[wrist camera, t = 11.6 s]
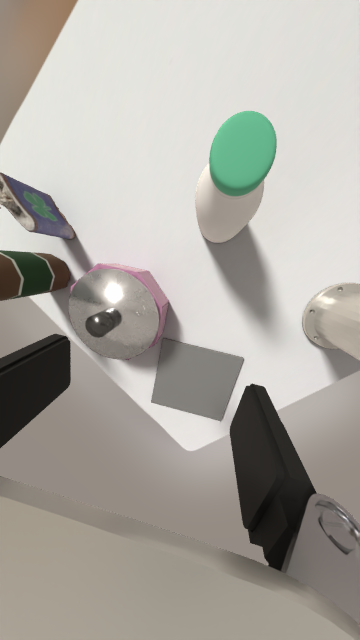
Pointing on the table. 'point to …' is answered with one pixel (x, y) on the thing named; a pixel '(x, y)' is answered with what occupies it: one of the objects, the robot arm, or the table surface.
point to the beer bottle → (30, 274)
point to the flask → (33, 209)
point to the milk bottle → (234, 175)
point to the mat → (195, 379)
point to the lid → (113, 313)
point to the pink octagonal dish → (151, 285)
